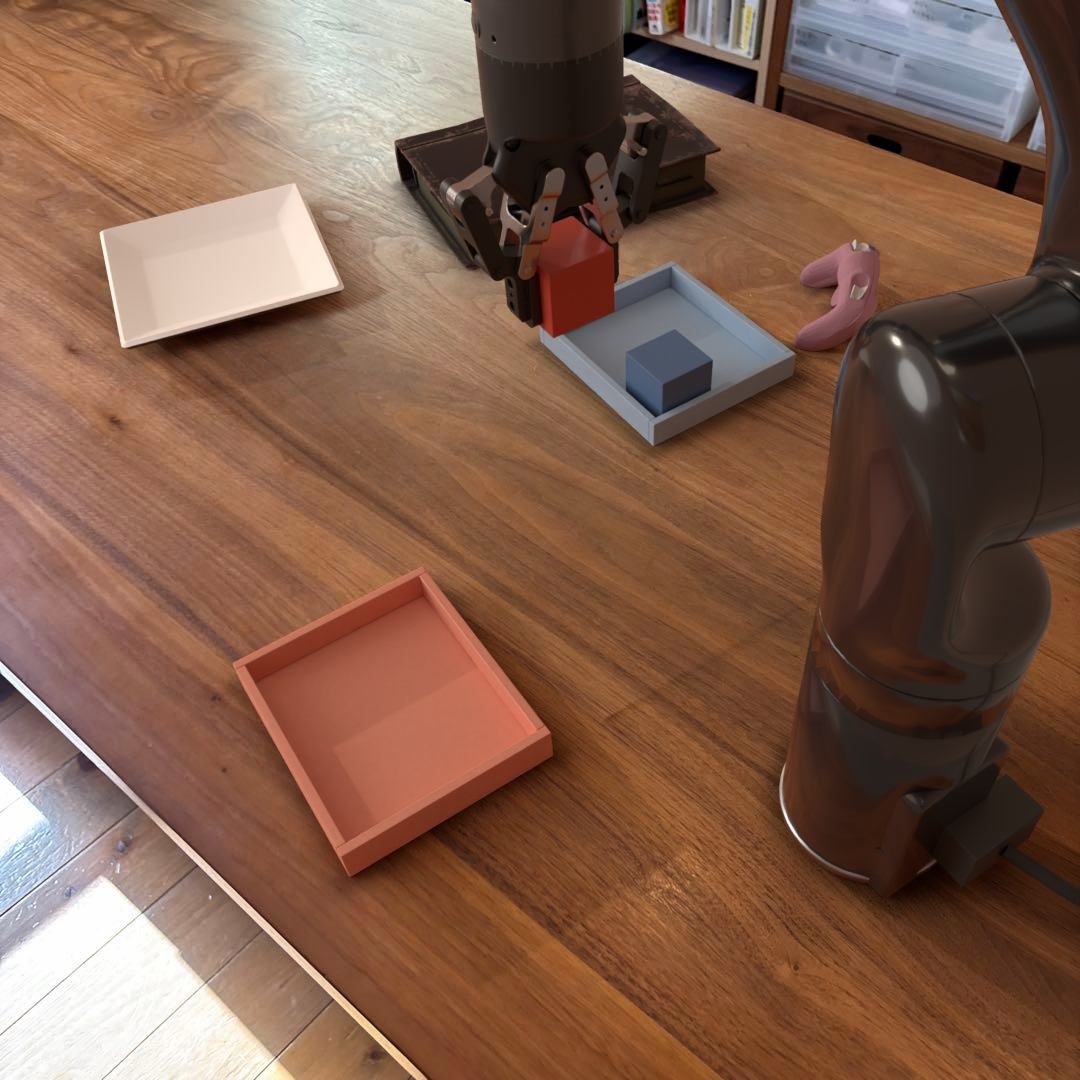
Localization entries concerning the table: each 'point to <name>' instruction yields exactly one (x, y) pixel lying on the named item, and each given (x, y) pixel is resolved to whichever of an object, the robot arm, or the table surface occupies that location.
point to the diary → (676, 185)
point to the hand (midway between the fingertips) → (564, 303)
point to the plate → (216, 265)
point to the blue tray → (702, 318)
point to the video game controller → (841, 294)
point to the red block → (574, 277)
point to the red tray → (391, 717)
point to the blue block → (667, 372)
